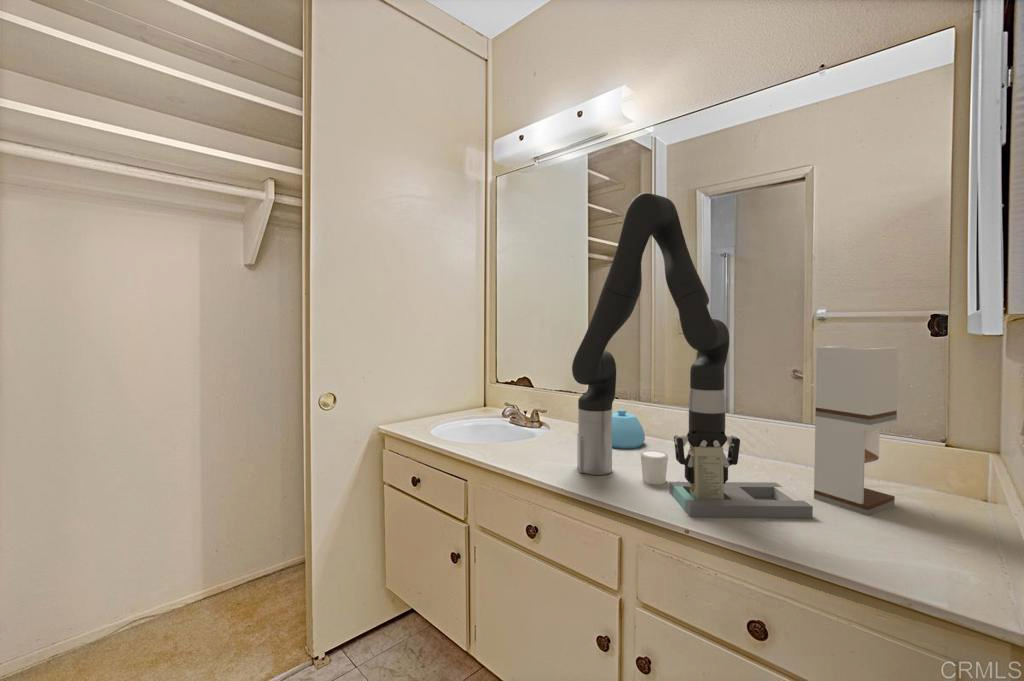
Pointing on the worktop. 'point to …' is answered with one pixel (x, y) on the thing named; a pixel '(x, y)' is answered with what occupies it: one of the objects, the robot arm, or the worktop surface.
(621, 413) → the sugar bowl
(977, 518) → the worktop surface
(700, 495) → the skincare box
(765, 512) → the slot holder
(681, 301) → the robot arm
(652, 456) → the white tapered cup
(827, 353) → the coffee maker
